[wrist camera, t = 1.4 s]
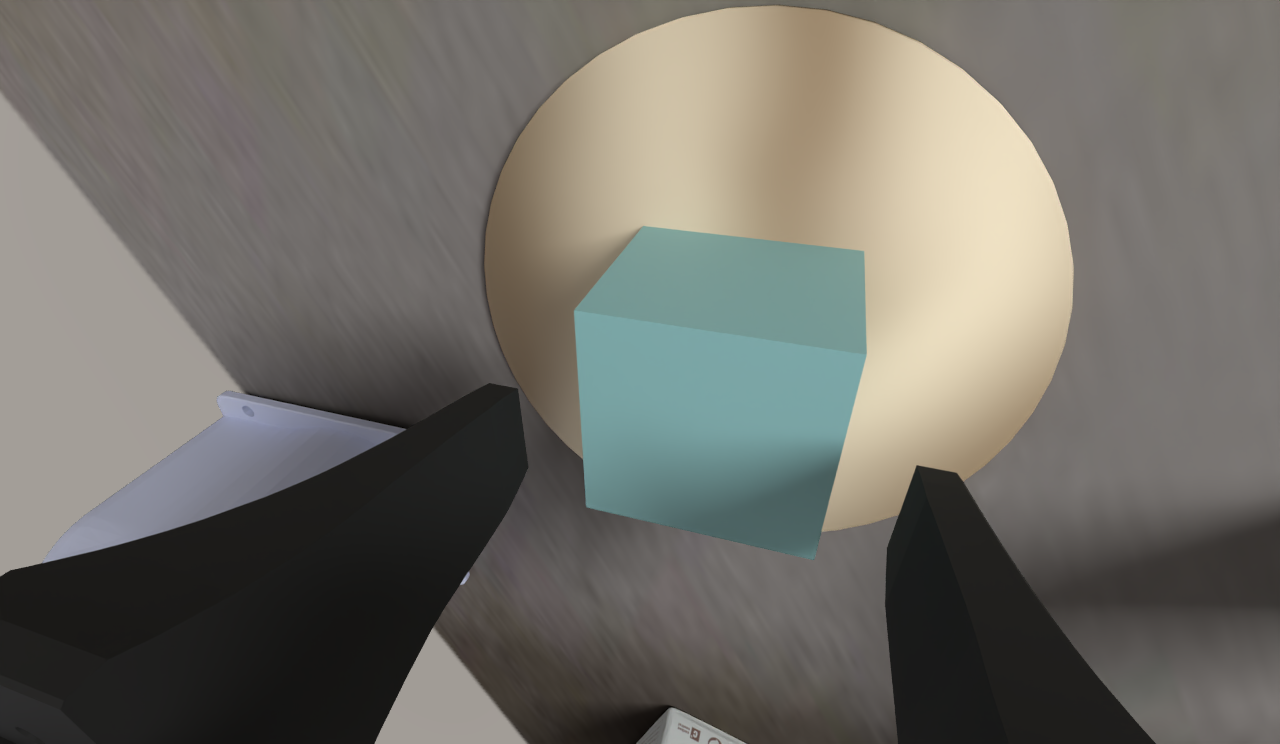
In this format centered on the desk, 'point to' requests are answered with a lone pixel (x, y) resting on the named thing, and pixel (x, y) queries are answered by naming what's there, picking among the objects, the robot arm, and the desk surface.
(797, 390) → the teal block
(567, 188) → the post base
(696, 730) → the supplement box
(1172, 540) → the desk surface
